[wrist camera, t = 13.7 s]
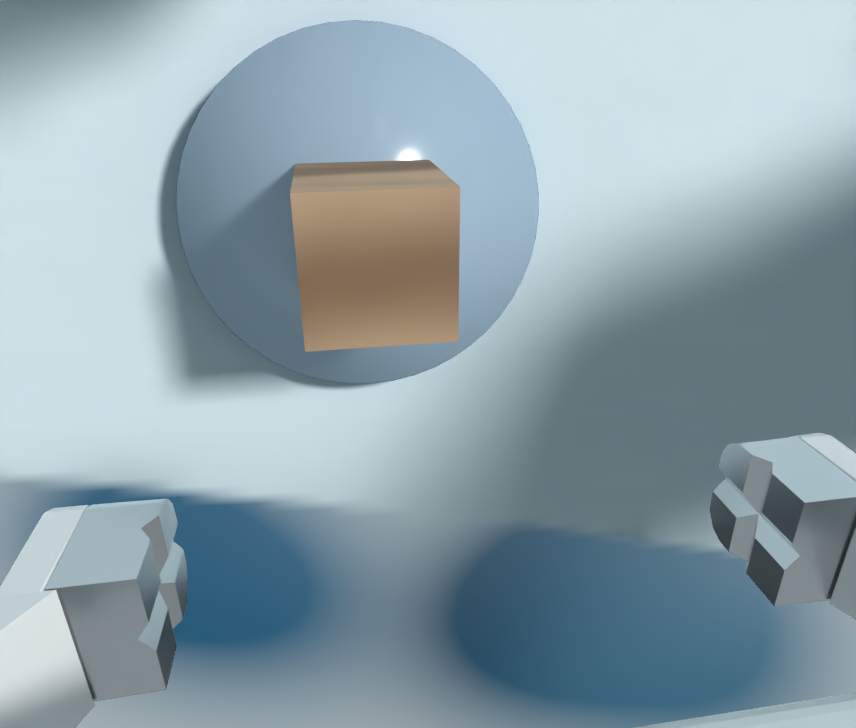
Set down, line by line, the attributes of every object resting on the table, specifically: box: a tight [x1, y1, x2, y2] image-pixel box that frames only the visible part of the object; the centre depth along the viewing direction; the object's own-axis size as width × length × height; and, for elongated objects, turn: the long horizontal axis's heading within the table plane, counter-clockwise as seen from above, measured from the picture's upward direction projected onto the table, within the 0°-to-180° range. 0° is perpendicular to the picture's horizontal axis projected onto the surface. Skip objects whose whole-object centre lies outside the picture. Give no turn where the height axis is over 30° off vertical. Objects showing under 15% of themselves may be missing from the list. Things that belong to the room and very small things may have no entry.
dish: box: [176, 20, 539, 384], centre depth 26 cm, size 14×14×1 cm
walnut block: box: [290, 160, 460, 352], centre depth 23 cm, size 5×5×6 cm
